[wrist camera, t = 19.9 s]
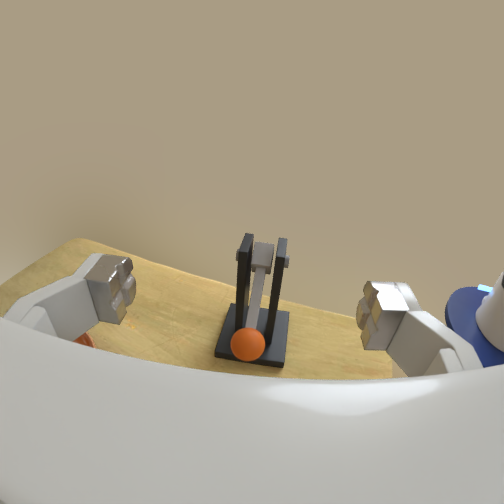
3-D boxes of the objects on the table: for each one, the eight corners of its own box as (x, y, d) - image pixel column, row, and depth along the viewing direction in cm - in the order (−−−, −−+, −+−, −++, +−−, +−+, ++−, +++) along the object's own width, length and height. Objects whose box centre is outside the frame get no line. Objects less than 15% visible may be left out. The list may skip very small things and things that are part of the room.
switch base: (283, 368, 36) (303, 275, 29) (214, 357, 37) (213, 262, 29) (288, 317, 45) (304, 230, 37) (230, 308, 46) (234, 221, 38)
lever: (262, 364, 31) (262, 362, 27) (229, 359, 31) (225, 356, 28) (279, 256, 36) (280, 242, 33) (249, 252, 37) (248, 237, 33)
